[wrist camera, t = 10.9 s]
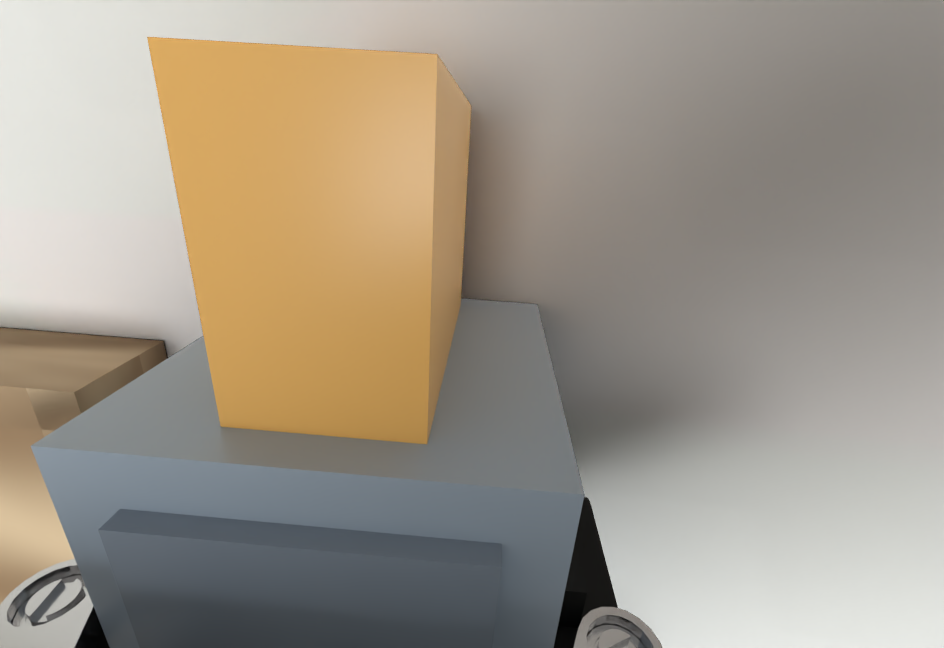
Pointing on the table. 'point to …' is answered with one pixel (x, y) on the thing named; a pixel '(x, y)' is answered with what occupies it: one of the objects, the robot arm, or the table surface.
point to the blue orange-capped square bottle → (324, 384)
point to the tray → (49, 429)
